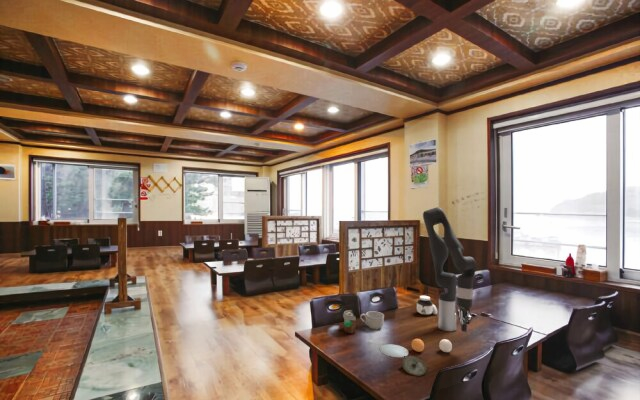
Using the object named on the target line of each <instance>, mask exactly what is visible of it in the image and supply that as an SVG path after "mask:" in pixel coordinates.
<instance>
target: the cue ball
mask: <svg viewBox="0 0 640 400" xmlns="http://www.w3.org/2000/svg"><path fill="white" fill-rule="evenodd" d="M438 346H439V349H440V350H441V351H442V352H443V353H449V352H451V351H452V349H453V344H452V342H451V341H450V340H449V339H446V338H444V339H443V338H442V339H441V340H440V341H439V344H438Z"/></svg>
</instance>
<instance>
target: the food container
mask: <svg viewBox="0 0 640 400" xmlns="http://www.w3.org/2000/svg"><path fill="white" fill-rule="evenodd" d="M342 317H343V319H344V321H343V323H344V332H345V333H347V334H353V335H356V322H357V317H356V316H355V315H354V313H353V309H349V310H345V311H344V312H343V315H342Z"/></svg>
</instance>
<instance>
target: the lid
mask: <svg viewBox="0 0 640 400" xmlns="http://www.w3.org/2000/svg"><path fill="white" fill-rule="evenodd" d="M402 358H403V359H401V367H402V369H403V370H404V371H405V372H406V374H408V375H411V376H413V377H415V376H416V377H420V376H421V377H422V376H423V375H425V374H426V372H427V364H426V363H425V362H424V361H423V360H422V359H420V358H418V357H416V356H413V355H409V356H408V355H407V356H405V357H402Z"/></svg>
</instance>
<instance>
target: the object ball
mask: <svg viewBox="0 0 640 400" xmlns="http://www.w3.org/2000/svg"><path fill="white" fill-rule="evenodd" d="M411 347H412V350H414V351H415V352H418V353H419V352H422V351H423V350H424V349H425V344H424V341H423V340H421V339H420V338H415V339H413V340H412V341H411Z"/></svg>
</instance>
